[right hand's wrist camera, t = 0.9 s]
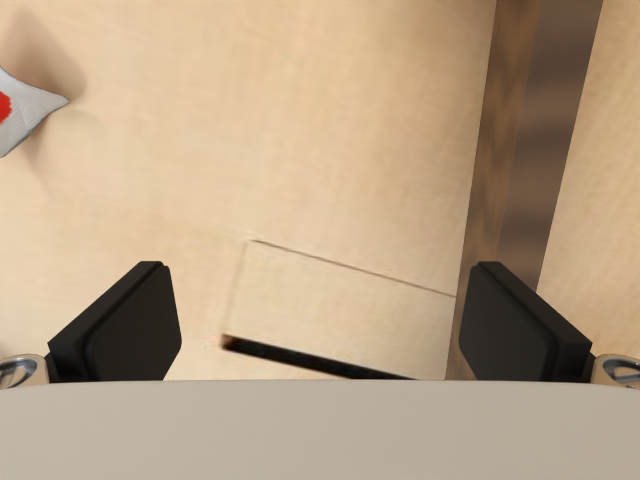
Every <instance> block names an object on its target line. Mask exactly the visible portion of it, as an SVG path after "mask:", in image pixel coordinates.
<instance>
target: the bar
mask: <svg viewBox="0 0 640 480" xmlns="http://www.w3.org/2000/svg"><path fill="white" fill-rule="evenodd" d="M602 3H603V0H497V6H496V13H495V20H494V27H493V35H492V42H491V49H490V57H489V64H488V71H487V78H486V86H485V93H484V100H483V107H482V115H481V122H480V129H479V136H478V144H477V151H476V158H475V165H474V173H473V180H472V187H471V195H470V202H469V209H468V216H467V224H466V231H465V238H464V245H463V253H462V260H461V267H460V274H459V282H458V289H457V296H456V303H455V311H454V318H453V325H452V333H451V340H450V347H449V354H448V362H447V369H446V376H445V380H454V381H477V379H476V377H475V375H474V374H473V372H472V370H471V368H470V367H469V365H468V363H467V361H466V360H465V358H464V356H463V354H462V353H461V351H460V348H459V343H458V338H459V332H460V326H461V321H462V315H463V309H464V303H465V297H466V292H467V286H468V280H469V274H470V270H471V267H472V266H476V265H477V263H478V262H479V261H499V262H501V263H502V264H503V265H504V266H505V267H507V268H508V269H509V270H510V271H511V272H512V273H513V274H515V275H516V276H517V277H518V278H519V279H520V280H521V281H523V282H524V283H525V284H526V285H527V286H528V287H529V288H531V289H532V290H533V291H534V292H535V293H536V290H537V285H538V281H539V277H540V272H541V268H542V264H543V259H544V255H545V251H546V246H547V242H548V237H549V233H550V229H551V224H552V220H553V216H554V211H555V207H556V203H557V198H558V194H559V190H560V185H561V181H562V177H563V172H564V168H565V164H566V159H567V155H568V151H569V146H570V142H571V138H572V133H573V129H574V124H575V120H576V116H577V111H578V107H579V103H580V98H581V94H582V90H583V85H584V81H585V77H586V72H587V68H588V64H589V59H590V55H591V51H592V46H593V42H594V38H595V33H596V29H597V25H598V20H599V16H600V11H601V7H602Z"/></svg>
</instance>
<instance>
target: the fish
mask: <svg viewBox="0 0 640 480" xmlns="http://www.w3.org/2000/svg"><path fill="white" fill-rule="evenodd" d="M69 102H70V101H69V100H68V99H67V98H66V97H64V96H61V95H58V94H55V93H51V92H48V91H45V90H42V89H39V88H37V87H34V86H32V85H29V84H26V83H24V82H21V81H19V80H17V79H16V78H14V77H13V76H12V75H10V74H9V73H8V72H7V71H5V70H4V69H3V68H2V67H1V66H0V158H1V157H4V156H6V155H7V154H8V153H9V152H11V151H12V150H13V149H14V148H15V147H17V146H18V145H19V144H20V143H21V142H23V141H24V140H25V139H26V138H27V137H28V136H29V135H30V134H31V133H32V132H33V131H34V130H35V128H36V127H37V126H38V125H39V124H40V123H41V122H42V121H43V120H44V119H45V118H46V117H47V115H48V114H49V113H51V112H53V111H55V110H57V109H59V108H61V107H62V106H64V105H66V104H68V103H69Z"/></svg>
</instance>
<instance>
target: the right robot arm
mask: <svg viewBox="0 0 640 480" xmlns="http://www.w3.org/2000/svg"><path fill="white" fill-rule="evenodd" d="M181 343H182V338H181V332H180V326H179V321H178V315H177V309H176V303H175V297H174V292H173V286H172V280H171V274H170V270H169V267H168V266H164V265H163V263H162V262H161V261H141V262H139V263H138V264H137V265H136V266H135V267H133V268H132V269H131V270H130V271H129V272H128V273H127V274H125V275H124V276H123V277H122V278H121V279H120V280H119V281H117V282H116V283H115V284H114V285H113V286H112V287H111V288H109V289H108V290H107V291H106V292H105V293H104V294H103V295H101V296H100V297H99V298H98V299H97V300H96V301H95V302H93V303H92V304H91V305H90V306H89V307H88V308H87V309H85V310H84V311H83V312H82V313H81V314H80V315H79V316H77V317H76V318H75V319H74V320H73V321H72V322H71V323H69V324H68V325H67V326H66V327H65V328H64V329H63V330H61V331H60V332H59V333H58V334H57V335H56V336H55V337H53V338H52V339H51V340H50V341H49V342H48V343H47V344H48V346H49V349H50V352H49V353H48V354H47V355H46V356H45V357H44V358H43V357H42V356H40V355H37V354H22V355H15V356H12V357H8V358H4V359H2V360H0V480H640V360H638V359H636V358H632V357H628V356H625V355H618V354H603V355H600V356H598V357H597V358H596V357H595V356H594V355H593V354H592V353H591V352H590V349H591V346H592V344H593V343H592V342H591V341H590V340H589V339H588V338H587V337H585V336H584V335H583V334H582V333H581V332H580V331H579V330H577V329H576V328H575V327H574V326H573V325H572V324H571V323H569V322H568V321H567V320H566V319H565V318H564V317H563V316H561V315H560V314H559V313H558V312H557V311H556V310H555V309H553V308H552V307H551V306H550V305H549V304H548V303H547V302H545V301H544V300H543V299H542V298H541V297H540V296H539V295H537V294H536V293H535V292H534V291H533V290H532V289H531V288H529V287H528V286H527V285H526V284H525V283H524V282H523V281H521V280H520V279H519V278H518V277H517V276H516V275H515V274H513V273H512V272H511V271H510V270H509V269H508V268H507V267H505V266H504V265H503V264H502V263H501V262H499V261H479V262H478V263H477V265H476V266H472V267H471V270H470V274H469V280H468V286H467V292H466V297H465V303H464V309H463V315H462V321H461V326H460V332H459V338H458V343H459V348H460V351H461V353H462V354H463V356H464V358H465V360H466V361H467V363H468V365H469V367H470V368H471V370H472V372H473V374H474V375H475V377H476V379H477V381H454V380H186V381H163V379H164V377H165V375H166V374H167V372H168V370H169V368H170V367H171V365H172V363H173V361H174V360H175V358H176V356H177V354H178V353H179V351H180V348H181Z"/></svg>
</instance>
